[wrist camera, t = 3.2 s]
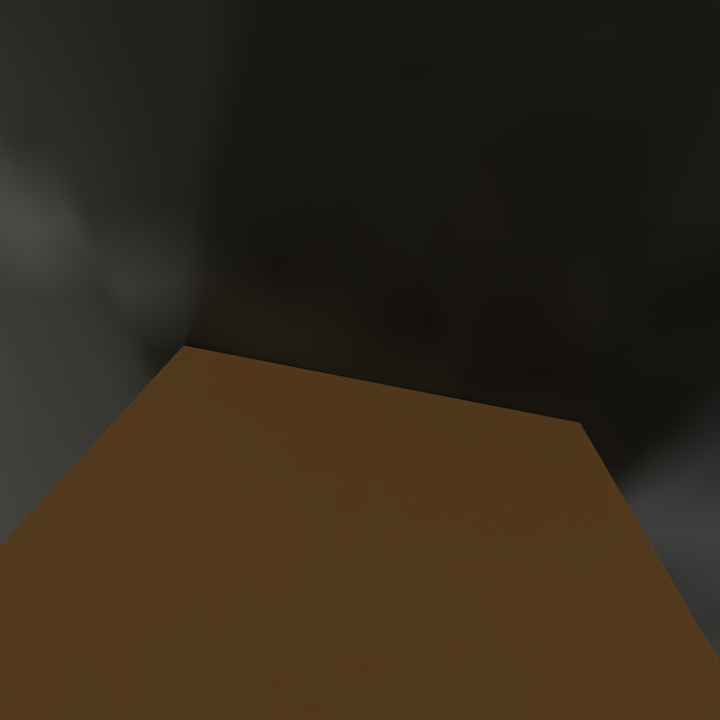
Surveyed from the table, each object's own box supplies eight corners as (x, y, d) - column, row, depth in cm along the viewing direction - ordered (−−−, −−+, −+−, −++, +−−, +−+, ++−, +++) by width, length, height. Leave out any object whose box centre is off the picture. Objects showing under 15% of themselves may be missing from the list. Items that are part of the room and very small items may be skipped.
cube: (172, 617, 10) (-75, 1176, 5) (183, 345, 8) (-321, 896, 2) (470, 673, 10) (548, 1276, 5) (579, 422, 8) (987, 1121, 2)
